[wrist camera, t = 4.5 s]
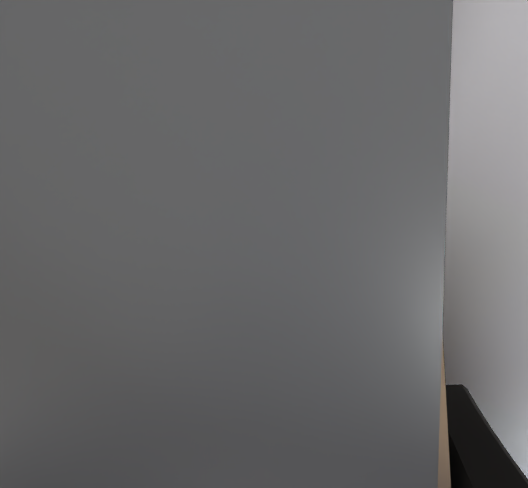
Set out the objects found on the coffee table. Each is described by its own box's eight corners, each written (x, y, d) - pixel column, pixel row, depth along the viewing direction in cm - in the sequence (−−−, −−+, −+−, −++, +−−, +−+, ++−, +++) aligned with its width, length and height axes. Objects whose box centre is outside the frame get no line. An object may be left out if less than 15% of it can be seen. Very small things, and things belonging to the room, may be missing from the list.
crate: (391, 306, 6) (436, 522, 3) (56, 329, 6) (-74, 516, 4) (373, -101, 3) (458, -183, 1) (-120, 11, 4) (-543, 71, 2)
